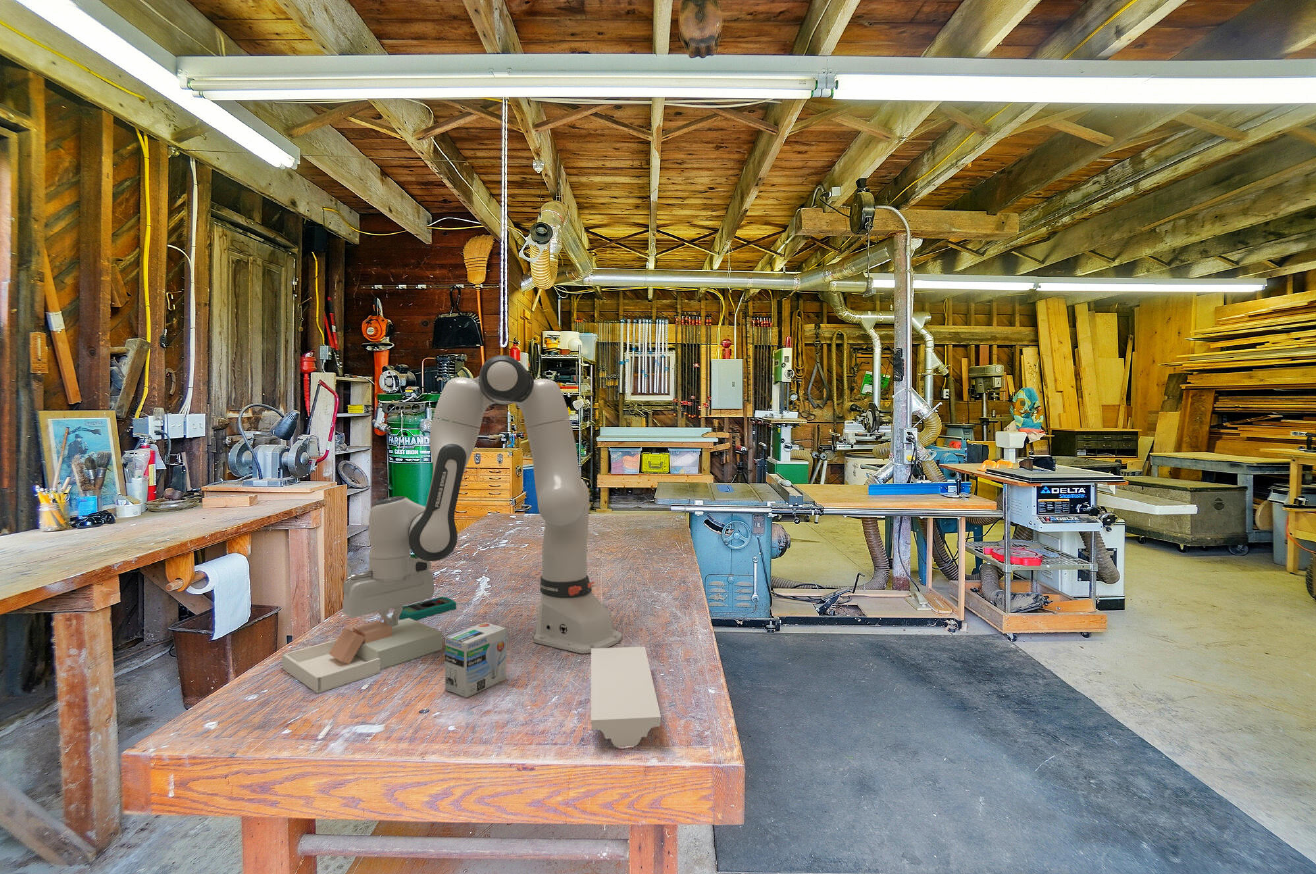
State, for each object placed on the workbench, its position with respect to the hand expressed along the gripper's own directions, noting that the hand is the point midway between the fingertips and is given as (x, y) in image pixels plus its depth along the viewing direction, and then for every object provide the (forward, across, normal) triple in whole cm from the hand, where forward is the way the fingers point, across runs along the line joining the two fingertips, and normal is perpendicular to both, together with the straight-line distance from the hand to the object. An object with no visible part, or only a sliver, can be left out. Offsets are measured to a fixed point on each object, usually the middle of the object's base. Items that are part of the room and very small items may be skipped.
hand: (390, 626), depth 138 cm
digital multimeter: (+6, +19, +17) cm, 26 cm away
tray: (+5, -14, -2) cm, 15 cm away
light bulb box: (+5, +2, -31) cm, 32 cm away
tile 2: (+1, -4, 0) cm, 4 cm away
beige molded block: (+6, +15, -59) cm, 61 cm away
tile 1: (+2, -9, 0) cm, 9 cm away
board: (+5, 0, -2) cm, 6 cm away
